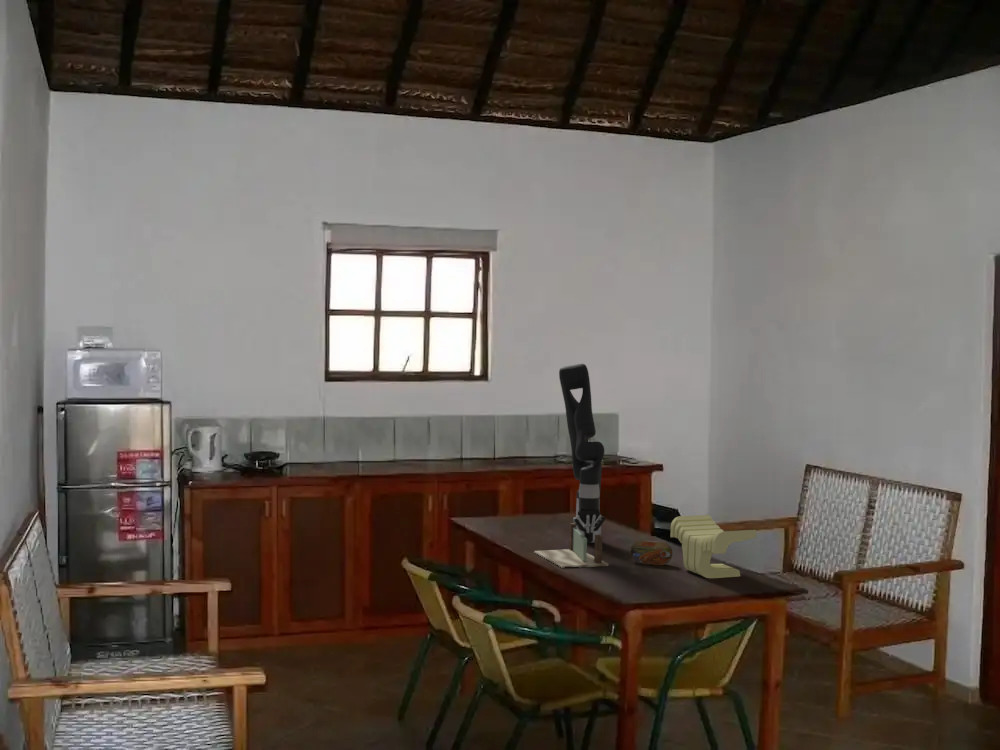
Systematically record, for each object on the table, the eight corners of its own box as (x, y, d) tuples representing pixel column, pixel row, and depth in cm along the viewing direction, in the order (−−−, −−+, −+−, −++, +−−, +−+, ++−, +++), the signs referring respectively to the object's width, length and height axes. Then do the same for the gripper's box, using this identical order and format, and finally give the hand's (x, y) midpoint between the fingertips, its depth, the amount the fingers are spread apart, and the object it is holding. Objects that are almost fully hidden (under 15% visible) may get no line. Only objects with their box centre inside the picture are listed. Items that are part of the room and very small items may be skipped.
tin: (630, 562, 398) (630, 539, 398) (632, 561, 401) (632, 538, 400) (671, 566, 393) (671, 543, 392) (672, 565, 396) (673, 541, 395)
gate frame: (578, 550, 417) (578, 522, 417) (608, 565, 392) (608, 535, 391) (534, 553, 411) (534, 524, 411) (561, 568, 386) (562, 538, 385)
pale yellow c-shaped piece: (669, 565, 394) (670, 516, 393) (708, 563, 400) (709, 514, 399) (713, 584, 366) (715, 531, 365) (754, 581, 372) (756, 529, 371)
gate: (576, 549, 414) (576, 527, 413) (587, 561, 393) (587, 537, 393) (572, 549, 413) (572, 527, 413) (582, 561, 393) (583, 537, 393)
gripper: (601, 493, 407) (600, 539, 408) (568, 495, 403) (567, 541, 404) (609, 496, 400) (609, 543, 401) (576, 498, 396) (576, 545, 397)
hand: (588, 542), depth 402 cm, fingers closed
